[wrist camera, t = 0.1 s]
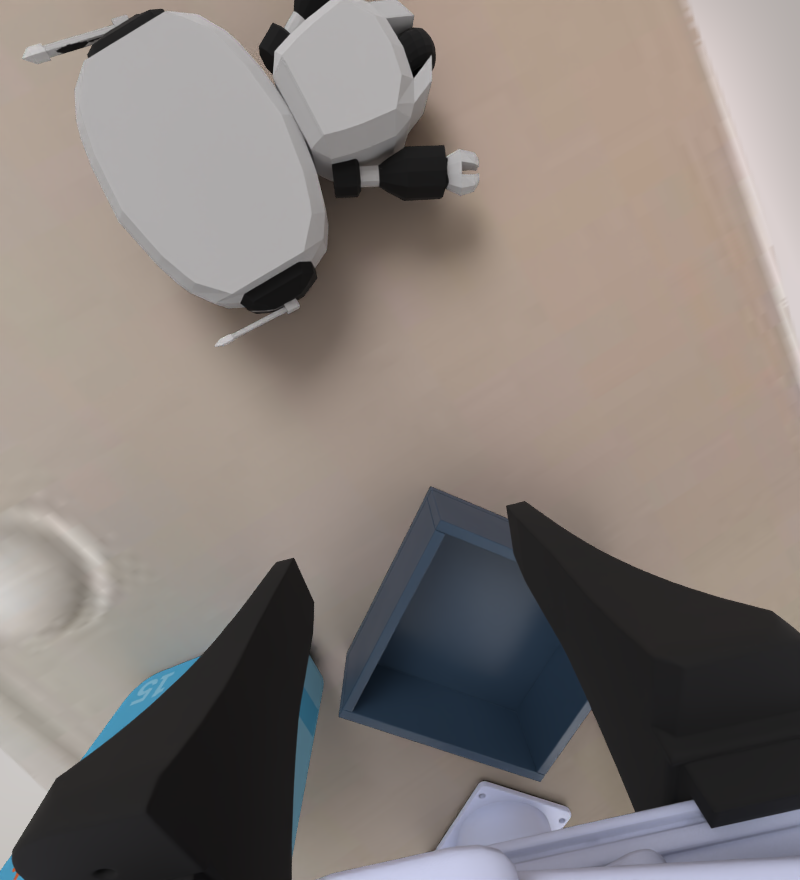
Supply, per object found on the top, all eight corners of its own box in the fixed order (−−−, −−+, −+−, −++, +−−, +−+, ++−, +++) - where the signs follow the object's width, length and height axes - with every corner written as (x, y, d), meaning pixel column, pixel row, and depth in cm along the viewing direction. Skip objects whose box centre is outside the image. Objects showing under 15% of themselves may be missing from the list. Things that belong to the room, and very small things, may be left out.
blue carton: (298, 615, 25) (224, 846, 14) (328, 667, 27) (283, 921, 15) (138, 678, 26) (-59, 946, 15) (173, 726, 27) (16, 1010, 16)
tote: (516, 712, 28) (540, 782, 24) (346, 653, 26) (338, 717, 22) (613, 562, 25) (661, 610, 21) (430, 485, 24) (440, 519, 19)
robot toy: (359, -50, 18) (80, 120, 18) (358, -183, 13) (-11, 44, 14) (477, 212, 21) (235, 355, 21) (509, 174, 16) (201, 355, 17)
